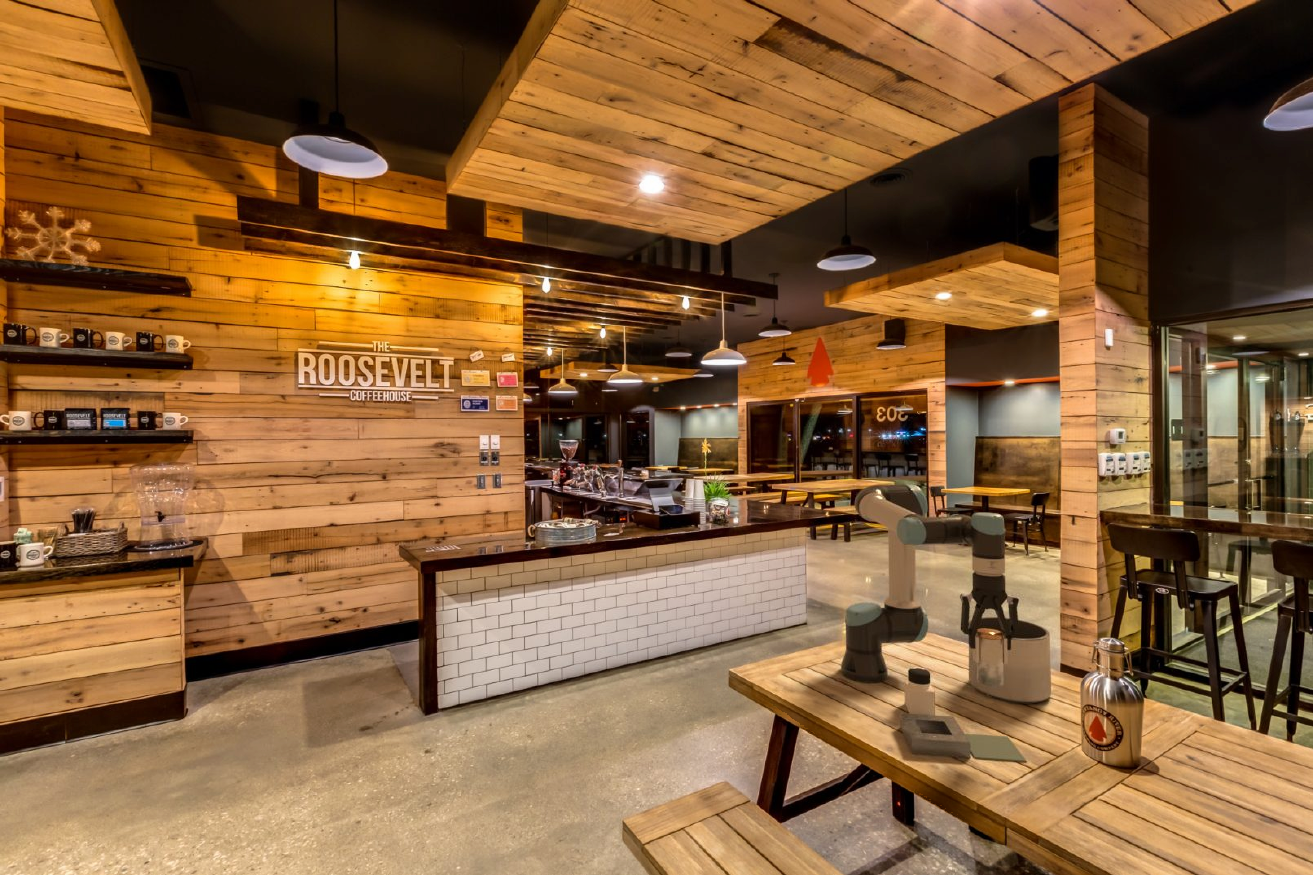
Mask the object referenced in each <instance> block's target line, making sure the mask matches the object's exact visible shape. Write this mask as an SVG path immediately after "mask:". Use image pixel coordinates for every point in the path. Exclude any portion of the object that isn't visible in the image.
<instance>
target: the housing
mask: <svg viewBox="0 0 1313 875" xmlns="http://www.w3.org/2000/svg"><path fill="white" fill-rule="evenodd" d="M899 728H900V730H901V732H902V734H903V737H904V739H905V741H906V743H907V745H908V748H909V749H910V752H911V754H912V755H923V756H925V755H926V756H937V757H947V758H948V757H951V758H961V759H962V758H965V759H971V757H972V756H971V754H972V753H971V752H970V741H969V740H968V738H967V737H966V735H965V734H966V733H965V732H964V731H963V729H962V728H961V726H960V724H959V723H958V721H957V720H956V718H955V717H954V716H951V715H950V716H948V715H936V714H935V715H920V714H910V713H905V712H904V713H903V712H902V713H901V712H900V713H899Z"/></svg>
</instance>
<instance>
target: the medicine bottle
mask: <svg viewBox="0 0 1313 875" xmlns="http://www.w3.org/2000/svg"><path fill="white" fill-rule="evenodd" d="M907 671H908V672H907V677H908V678H907V680H904V684H903V685H904V705H905V706H906V709H907V712H908V714H920V715H936V692H935V690H934V688H933V686H932V685H931V672H930V671H929V670H927V669H926V668H923V667H919V666H916V667H915V666H914V667H910V668H909V669H908V670H907Z"/></svg>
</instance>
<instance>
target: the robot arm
mask: <svg viewBox="0 0 1313 875" xmlns="http://www.w3.org/2000/svg"><path fill="white" fill-rule="evenodd" d="M854 499H855V500H854V508H855V511H856V512H857V514H858V515H859V516H860V517H861V518H862V519H864V520H866V521H868V522H872V523H873V522H875V523H878V524H879V525H881V526H884V527H885V528H887V530H888V532H887V533H888V534H887V536H888V538H887V540H888V597H886V598H885V599H884V600H883V601H884V607H881V605H880V604H878V603H875V602H859V603H854V604H851V605H849V606H848V607H847V609H846V610H845V619H844V623H845V652H844V655H843V658H842V661H841V663H840V664H841V665H840V672H841V674H842V675H843V676H844V677H846V678H848V679H849V680H853V681H854V682H855V681H856V682H861V683H881V682H884V681H886V680H888V675H889V673H888V672H889V671H888V667H887V664H886V662H885V658H884V656H883V650H882V649H883V648H882V645H883V644H901V643H904V644H905V643H907V644H912V643H915V642H916V643H917V642H921V641H922V640H924V639H925V637H926V636H927V634H928V630H929V619H928V613H927V611H926V609H924V607H922V604H921V602H919V600H918V599H917V590H916V589H917V588H916V586H917V585H916V584H917V581H916V579H917V578H916V575H917V574H916V569H917V568H916V566H917V564H916V563H917V562H916V561H917V560H916V547H917V546H926V545H927V546H928V545H929V546H930V545H957V544H959V545H960V544H963V545H968V546H971V557H972V558H971V559H972V560H971V561H972V563H971V569H972V571H973V572H972V578H971V579H972V589H971V591H970V593H968V594H964V593H961V594H960V595H959V599H960V602H961V614H960V616H961V617H960V631H961V632H962V633H963V634H965V635H968V648H969V647H970V648H971V649H973V659H974V661H975V662H977V663H979V637H978V636H977V635H976V633H977V630H978V627H979V624H980V621H981V618H983V615H984V614H985V611H986V610H990V609H991V610H994V611H995V614H996V617H998V620H999V623H1000V626H1001V629H1002V632H1003V634H1004V636H1003V663H1004V664H1008V661H1007V650H1011V639H1012V638H1013V636H1019V624H1018V620H1019V616H1018V615H1019V613H1018V607H1019V606H1018V605H1019V603H1020V599H1019V598H1018V597H1016V595H1009V594H1008V593H1007V592H1006V576H1005V573H1006V558H1005V557H1006V555H1005V554H1006V528H1005V518H1004V516H1003V515H1001V514H999V513H997V512H996V513H995V512H994V513H993V512H974V513H973V514H972V515H971V516H969V515H966V514H963V513H962V514H957V513H956V514H950V515H949V516H927V513H928V510H929V509H928V500H927V498H926V496H925V493H924V491H923V490H922V488H920V487H919V486H918V485H915V484H908V483H898V484H896V483H895V484H873V485H868V486H866V487H864V488H863V489H861V490H860V491H859V492H858V493H857V495H856V497H855V498H854ZM972 599H973V600H974V601H975V606H974V611H973V614H972V619H970V611H971V610H970V609H971V605H970V603H972ZM1006 601H1007V602H1006ZM1005 602H1006V603H1007V605H1008V606H1007V607H1008V608H1007V609H1008V614H1009V615H1008V618H1009V619H1010V630H1009V627H1008V624H1007V621H1006V618H1007V617H1006V615H1005V613H1004V608H1003V607H1002V606H1003V605H1004V603H1005ZM970 621H971V623H970V626H969V622H970Z"/></svg>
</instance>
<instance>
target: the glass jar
mask: <svg viewBox="0 0 1313 875" xmlns="http://www.w3.org/2000/svg"><path fill="white" fill-rule="evenodd" d="M977 636H978V637H979V663H977V681H978V682H980V683H981V684H984V685H987V686H993V687H999V686H1003V684H1004V680H1003V633H1002V632H1000V631H998V630H994V629H986V628H982V629H978V630H977Z"/></svg>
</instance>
